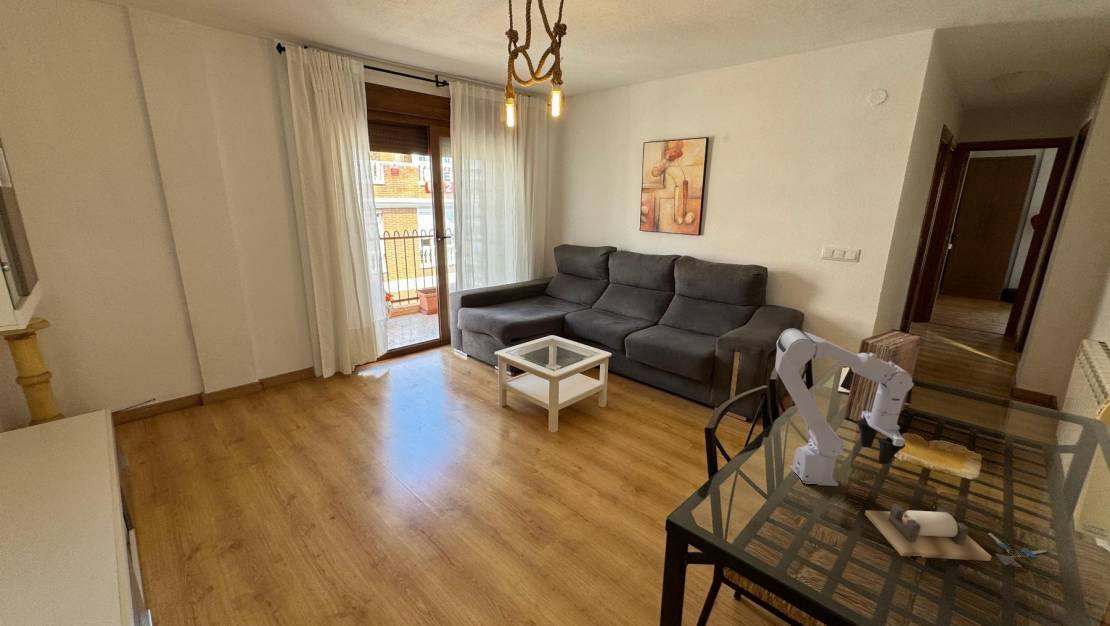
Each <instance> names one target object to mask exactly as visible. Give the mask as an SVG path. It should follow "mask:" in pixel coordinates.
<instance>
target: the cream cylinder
mask: <svg viewBox="0 0 1110 626" xmlns="http://www.w3.org/2000/svg"><path fill="white" fill-rule="evenodd" d="M904 512H905V514H904V518H903V520H902V521H903V524H904V526H905V527H906V524H907V520H915V521H916V522H917V523H918V524H919V525H920V526H921V527H920V530H919V533H918V535H922V536H940V537H954V536H956V535H957V532H958V527H957V523H958V522H957V521H956V519H955V517H954V516H952V515H951V514H948V513H946V512H937V511H926V510H906V511H904Z"/></svg>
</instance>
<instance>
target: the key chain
mask: <svg viewBox="0 0 1110 626" xmlns="http://www.w3.org/2000/svg"><path fill="white" fill-rule="evenodd" d="M987 535H989V536H990V537H991V538H992V539H994V541H995V542H996V543H995V544H996V545H997V546H998V547H1000V548H1002V549H1003V550H1006V552H1008V553H1007V554H1008V555H1005V554H1001V553H995V556H996V557H997V558H998V560H1000V562H1002V564H1003V565H1004V566H1006V565H1009V563H1012V564H1014V565H1017V566H1018V567H1021V568H1020V569H1023V567H1022V565H1020V563H1019V562H1018V561H1017V560H1016V559H1017V557H1019V558H1021V557H1023V558H1027V557H1030V558H1032V559H1036V558H1037V554H1042V553H1043V554H1044V553H1047V550H1046V549H1038V550H1033V551H1031V550H1030V549H1028V548H1024V547H1023V548H1021V553H1023V554H1025V555H1021V554H1020V552H1019V553H1018V552H1017V551H1016V552H1017V553H1018V554H1019V555H1018V554H1017V553H1016V554H1017V555H1016V554H1014V553H1013V551H1010V550H1011V549H1010V548H1009V547H1008V548H1007V546H1008V545H1007V544H1005V543H1003V542H1002V541H1001V540H999V538H998V537H996V536H995V535H994V534H993V533H991V532H988V533H987ZM1009 549H1010V550H1009ZM1009 553H1010V554H1011V553H1012V555H1013V554H1014V555H1013V556H1009ZM1015 555H1016V556H1015ZM1014 557H1015V558H1014ZM1014 559H1015V560H1016V561H1017V562H1018V563H1019V564H1018V563H1017V562H1016V561H1015V560H1014ZM1010 560H1011V561H1012V562H1011V561H1010ZM1014 561H1015V562H1014Z"/></svg>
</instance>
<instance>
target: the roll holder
mask: <svg viewBox="0 0 1110 626" xmlns="http://www.w3.org/2000/svg"><path fill="white" fill-rule="evenodd" d="M905 512H906V511H905V509H904V508H903V507H902V506H901V505H900V504H892V505H891V509H890V511H884V510H883V511H882V510H868V509H867V510H865V512H864V516H866V517H867V519H868V520H869V521H870V522H871V523H872V524H873V525H874V527H876V529H877V530H878V531H879V532H880V533H881V535H883V537H884V538H885V539H886V540H887V542H888V543H889V544H890V545H892V547H893V548H894V549H895V550H896V552H897V553H899V555H900V556H901V557H911V556H914V557H915V556H922V557H921V558H930V559H931V558H932V559H933V558H934V559H948V560H949V559H951V560H967V561H969V560H970V561H983V562H990V561H991V559H992V556H991V555H990V553H988V552H987V551H986V550H985V549H984V548H983V547H982V546H980V545H979V544H978V543H977V542H976V541H975V540H974V539H973V538H971V537H970V536H969V535H968V533H969V530H970V528H969V527H968V526H967V525H966V524H964V523H963V522H957V527H958V532H957V535H956V536H954V537H940V536H922V535H918V533H919V530H920V527H921V526H920V525H919V524H918V523H917V522H916V521H915V520H907V524H906V527H905V526H904V524H903V521H902V520H903V518H904V514H905ZM936 512H946V513H948V514H950V515H951V514H952V512H950V511H949V510H948V509H947V508H946V507H944V506H943V507H940V506H938V507H937V508H936ZM915 558H916V557H915Z"/></svg>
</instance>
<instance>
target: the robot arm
mask: <svg viewBox="0 0 1110 626" xmlns="http://www.w3.org/2000/svg"><path fill="white" fill-rule="evenodd" d="M778 337H779V338H778V339H777V340H776V355H775V365H774V367H775V370H776V372H777V374H778V376H779V377H780V379H781V381H782V383H783V385H784V386H785V389H786V390H787V392H788V393H789V395H790V398H791V399H792V400H793V402H794V404H795V406H796V408H797V409H798V411H799V413H800V415H801V416H802V418H803V419H804V422H805V424H806V426H807V427H806V432H807V435H808V436H809V440H808V442H807V444H806V445H803V446H799V447H798V446H797V447H796V449H795V451H794V456H793V461H792V465H790V469H791V470H792V472H793V473H794V472H795V473H796V474H797V475H798V476H799V477H800V478H801V480H803V481H807V483H808V482H809V483H808V484H818V485H817V486H827V487H828V486H829V487H838V486H839V483H838V482H837V481H836V480H835V479H834V478H833V474H834V471H835V466H836V461H837V457H838V456H839V455H841V454H842V452H844V448H845V444H844V442H843V439H841V438H840V437H839V435H837V433H836V432H835V430H834V429H833V427H832V426H831V424H830V423H829V422H828V421H826V418H825V417H824V415H823V414H822V411H821V410H820V408H819V407H818V405H817V403H816V402H815V399H814V398H813V396H812V394H811V392H810V391H809V388H807V387H808V386H807V385H806V384H805V382H804V380H803V378H802V376H801V375H800V370H801V369H802V368H803V366H805V365H806V364H807V363H808V362H809V361H810V360H811V359H812V358H814V359H817V360H818V359H819V358H821V357H823V356H824V357H827V358H829V359H833V360H835V361H837V362H840V363H843V364H846V365H848V366H850V368H851V371H852V372H853V374H854V373H857V374H859V375H861V376H864V377H866V378H868V379H871V380H873V381H875V382H878V383H879V385H878V389H877V393H876V397H875V401H874V405H873V408H872V412H869V411H862V414H861V418H863V420H858V421H857V422H856V423H857V426H858V428H859V433H860V443H861V447H862V448H871V447H872V445H873V444H874V440H875V438H876V435H877V434H878V433H881V434H883V435H884V436H885V437H886V438H882V437H881V438H877V441H878V445H879V454H878V463H879V464H881V465H882V464H883V465H889V464H890V462H891V461H892V459H893V458H894V457H895V455H896V454H897V453H898V452H900V451H901V450H903V449H904V448H905V447H906V444H905V442H906V441H905V440H906V439H905V438H904V437H902V435H901V433H900V431H899V430H900V426H899V425H898V421H899V417H900V414H901V413H900V410H901V407H902V403H903V399H904V397H905V394H906V392H907V391H908V392H909V391H910V390H911V389H912V388H913V386H914V385H915V384H914V382H913V376H912V377H911V376H910V374H909V373H907V372H906V371H905V370H903V369H902V368H900V367H899V366H897V365H895V364H894V363H892V362H890V361H889V362H885V361H883V360H881V359H878V358H877V356H876V355H875V354H873V353H869V354H867V353H859V352H858V353H853V352H852V351H849V350H847V349H846V348H843V347H841V346H839V345H836V344H835V343H833V342H831V341H828V340H826V339H824V338H822V337H819V336H817V335H815V334H813V333H810V332H807V331H804V333H803V331H802V330H801V329H797V328H788V329H785V330H783V331H782V333H780V336H778ZM795 473H794V474H795ZM796 474H795V475H796ZM797 475H796V476H797ZM798 476H797V477H798ZM801 480H800V481H801Z"/></svg>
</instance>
